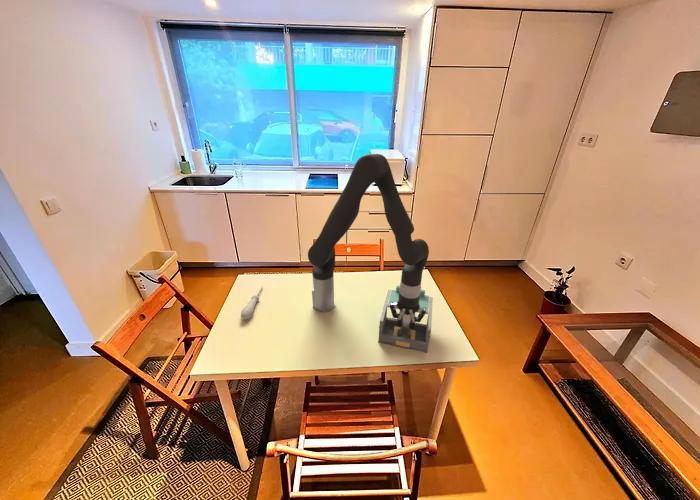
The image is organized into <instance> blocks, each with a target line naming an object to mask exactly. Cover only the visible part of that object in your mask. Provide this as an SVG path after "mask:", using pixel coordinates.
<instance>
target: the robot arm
mask: <svg viewBox="0 0 700 500" xmlns="http://www.w3.org/2000/svg"><path fill="white" fill-rule="evenodd" d="M395 182H396V181H395V179H394V176H393V172H392V169H391V167H390V162H389V160H388V159H387V158H386V156H384V155H383V154H381V153H367V154H366V153H365V154H364V155H362V156H360V157H359V158H358V159H357V161H356V162H355V164H354V166H353V168H352V170H351V172H350V176H349V179H348V180H347V183H346V185H345V187H344V188H343V191H342V192H341V194H340V195H339V198H338V199H337V201H336V203H335V204H334V206H333V208H332V209H331V211H330V213H329V215H328V217H327V219H326V221H325V223H324V225H323V227H322V230H321V231H320V234H319V235H318V237H317V239H316V240H315V241H314V242H313V244H312V245H311V247H309V249H308V251H307V258H308V261H309V263H310V264H311V265H312V266H313V267H312V270H311V271H312V273H311V274H312V285H313V286H312V287H313V289H312V290H311V298H312V308H314V309H315V310H316V311H318V312H321V313H323V312H329V311H331V310H333V309H334V308H335V282H334V281H335V280H334V276H335V275H334V273H335V267H336V250H335V246H336V245H337V244H338V243H339V241H340V240H341V239H342V238H343V237H344V236H345V234H346V233H347V232H348V231H349V229H350V228H351V227H352V225H353V224H354V222H355V221H356V219H357V218H358V215H359V212H360V207H361V201H362V198H363V197H364V194H365V193H366V192H367V190H368V189H369V187H370V186H371V185H372V184H373V183H374V184H375V185H376V187H377V188H378V190H379V192H380V195H381V198H382V202H383V208H384V214H385V218H386V221H387V223H388V224H389V227H390V229H391V231H392V233H393V235H394V239H395V245H396V248H397V254H398V256H399V258H400V259H401V261H402V262H403V263H404V266H403V267H402V270H401V276H400V277H401V278H400V284H399V286H400V288H399V299H398V302H397V303H393V302H391V304H390V307H389V308H390V312H391V315H392V318H394V319H398V321H397V325H398V326H399V327H401V318H402V316H403V314H410V316H411V319H412V321H411V329H412V328H414V327H415V323H420V322H422V320H423V318H424V316H425V315H427V314H426V308H425V307H423V308H422V307H420V305H419V299H420V293H421V290H422V279H423V272H424V269H425V266H426V265H427V262H428V259H429V255H430V249H429V246H428V243H427V242H426V241H425V240H424V239H421V238H417V239H412V234H413V233H414V231H415V226H414V224H413V222H412V220H411V219H410V215H409V214H408V211H407V210H406V209H405V206H404V203H403V201H402V199H401V195H400V194H399V191H398V188H397V184H396V183H395ZM396 306H397V307H398V308H399V309H398V310H399V312H397V309H396ZM418 310H419V312H420V313H418V312H417V311H418ZM416 313H418V314H417V316H416Z"/></svg>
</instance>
